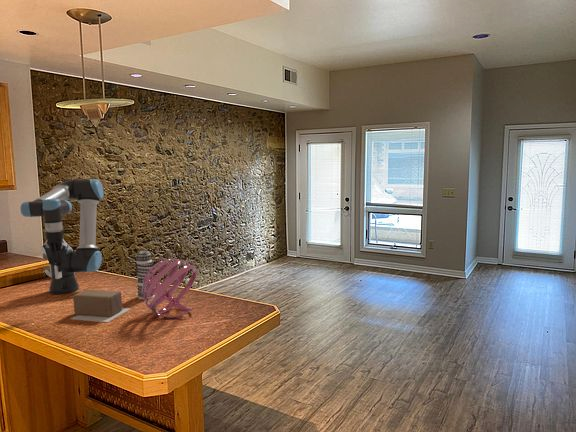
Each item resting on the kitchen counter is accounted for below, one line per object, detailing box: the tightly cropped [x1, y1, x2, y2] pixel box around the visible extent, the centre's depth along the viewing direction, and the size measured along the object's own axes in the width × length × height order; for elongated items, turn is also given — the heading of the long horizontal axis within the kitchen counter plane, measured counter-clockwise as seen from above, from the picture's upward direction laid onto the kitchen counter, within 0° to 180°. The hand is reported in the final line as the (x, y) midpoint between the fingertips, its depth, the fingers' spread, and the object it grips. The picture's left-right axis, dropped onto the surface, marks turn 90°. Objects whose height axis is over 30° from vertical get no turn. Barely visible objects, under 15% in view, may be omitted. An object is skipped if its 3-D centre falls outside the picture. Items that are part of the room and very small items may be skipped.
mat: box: [70, 307, 131, 323], centre depth 212 cm, size 18×20×1 cm
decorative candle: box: [134, 250, 155, 300], centre depth 235 cm, size 9×9×25 cm
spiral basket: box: [142, 257, 198, 319], centre depth 209 cm, size 28×28×27 cm
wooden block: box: [72, 289, 123, 317], centre depth 212 cm, size 10×10×20 cm
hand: (58, 278), depth 215 cm, fingers closed
